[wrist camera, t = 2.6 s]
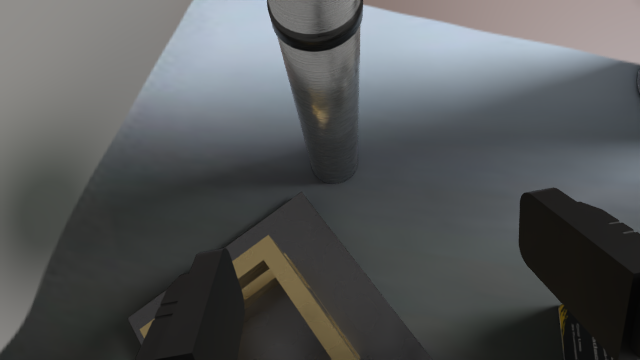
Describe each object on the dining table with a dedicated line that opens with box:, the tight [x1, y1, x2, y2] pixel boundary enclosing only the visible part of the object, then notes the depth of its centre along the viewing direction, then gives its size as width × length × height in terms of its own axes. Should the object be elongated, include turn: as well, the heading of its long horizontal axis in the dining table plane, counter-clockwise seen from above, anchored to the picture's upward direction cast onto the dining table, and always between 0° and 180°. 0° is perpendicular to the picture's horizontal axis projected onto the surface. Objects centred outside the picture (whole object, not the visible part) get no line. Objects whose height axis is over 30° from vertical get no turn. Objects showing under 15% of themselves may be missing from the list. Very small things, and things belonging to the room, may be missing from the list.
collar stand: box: [128, 192, 432, 360], centre depth 25 cm, size 16×16×10 cm
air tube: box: [267, 0, 363, 184], centre depth 24 cm, size 4×4×20 cm
